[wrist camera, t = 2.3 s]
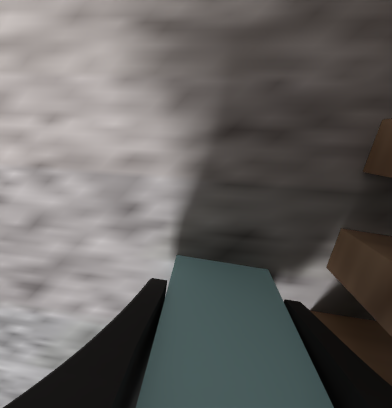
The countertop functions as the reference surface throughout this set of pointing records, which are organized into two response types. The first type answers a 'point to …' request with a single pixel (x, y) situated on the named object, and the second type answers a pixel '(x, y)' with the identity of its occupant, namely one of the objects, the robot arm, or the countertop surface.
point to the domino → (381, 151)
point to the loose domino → (227, 344)
